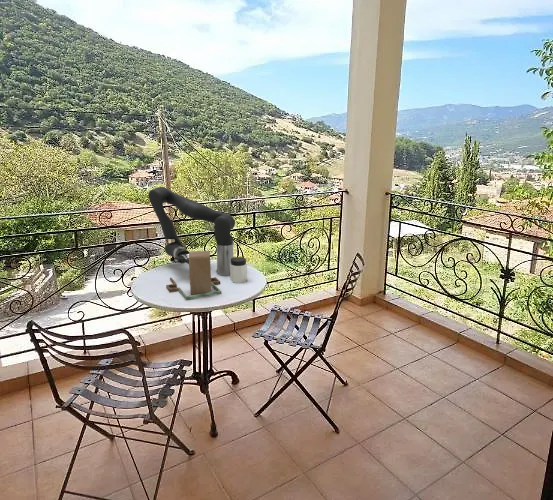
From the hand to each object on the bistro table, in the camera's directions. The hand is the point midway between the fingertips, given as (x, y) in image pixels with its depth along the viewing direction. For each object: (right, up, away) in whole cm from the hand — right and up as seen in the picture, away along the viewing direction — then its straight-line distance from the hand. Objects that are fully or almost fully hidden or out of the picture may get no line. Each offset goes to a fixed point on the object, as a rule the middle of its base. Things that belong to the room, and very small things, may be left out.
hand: (190, 262), depth 201 cm
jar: (+24, -10, +9) cm, 27 cm away
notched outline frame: (+2, -12, -2) cm, 13 cm away
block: (+7, -15, -8) cm, 18 cm away
